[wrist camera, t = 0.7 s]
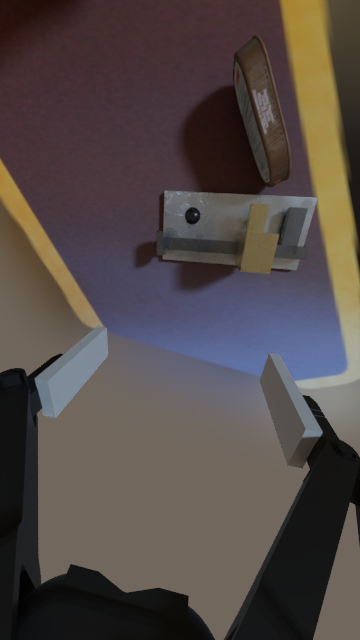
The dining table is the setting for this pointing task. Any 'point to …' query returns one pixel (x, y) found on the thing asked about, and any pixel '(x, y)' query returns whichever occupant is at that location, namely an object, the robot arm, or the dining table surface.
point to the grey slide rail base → (283, 250)
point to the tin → (261, 112)
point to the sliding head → (256, 243)
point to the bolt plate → (226, 221)
